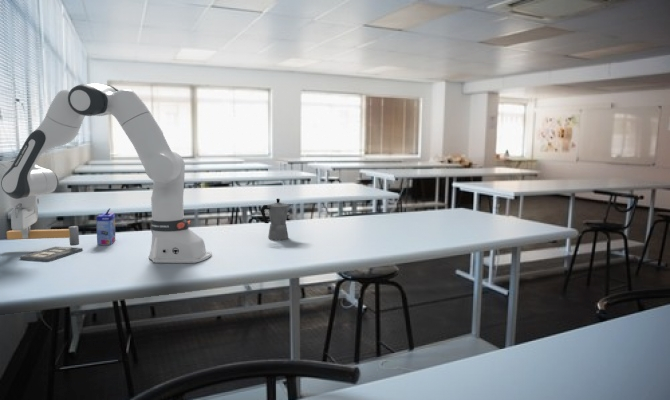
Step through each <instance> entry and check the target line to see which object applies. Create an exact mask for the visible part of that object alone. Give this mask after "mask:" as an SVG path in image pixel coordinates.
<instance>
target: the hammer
mask: <svg viewBox="0 0 670 400" xmlns="http://www.w3.org/2000/svg"><path fill="white" fill-rule="evenodd" d="M79 235H80V234H79V226H78V225H72V226H68V228H61V229H60V228H59V229H57V228H55V229H53V228H52V229H30V237H29V238H27V239H26V240H33V239H35V240H36V239H38V240H41V239H69V246H73V247H74V246H79V245H80V237H79ZM6 239H7V240H24V239H23V238H22V233H21V230H19V231H13V230H8V231H6Z"/></svg>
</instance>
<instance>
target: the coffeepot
mask: <svg viewBox="0 0 670 400" xmlns="http://www.w3.org/2000/svg"><path fill="white" fill-rule="evenodd" d="M275 201H276V202H274V203H270V204H264V205H262V207H261V208H260V214H261V217H262V219H263V223H264V224H269V223H270V224H269V230H268V235H267V237H268V239H269V240H270V241H284V240H287V239H289V233H288V227H287V223H286V221H287V220H288V212H289V208H290V207H291V206H292V205H291V204H289V203H283V202H280V201H281V198H276V200H275ZM266 210H268V215H269V220H267V216H266Z"/></svg>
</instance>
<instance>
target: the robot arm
mask: <svg viewBox="0 0 670 400" xmlns="http://www.w3.org/2000/svg"><path fill="white" fill-rule="evenodd" d="M107 115H111V116H113V117H114V118H115V119H116V121H117V122H118V124H119V126H120V127H121V128H122V130H123V131H124V134H125V135H126V136H127V138H128V140H129V141H130V143H131V144H132V145H133V147H134V150H135V151H136V153H137V156H138V158H139V160H140V162H141V164H142V166H143V168H144V171H145V174H146V177H148V178H149V179H150V180H151V181H153V184H152V194H151V197H150V200H151V202H150V204H151V220H150V231H151V244H150V251H149V256H148V259H150V260H151V261H152V263H159V264H160V263H162V264H163V263H165V264H167V263H169V264H171V263H173V264H176V263H177V264H186V263H187V264H196V263H200V262H203V261H205V260H207V259H209V258H210V257H212V255H213V253H212V251H210V250H207V249H206V244H205V240H204V239H203V237H200V236H199V235H198V234H197V233H195V232H194V231H193V230H191V229H190V228H189V227H190V226H189V225H190V224H191V220H188V221H187V220H186V218H185V217H184V213H185V212H184V211H185V210H184V191H185V175H186V174H185V171H186V170H185V169H186V167H185V166H186V163H185V161H184V159H183V157H182V156H181V155H180V154H179V153H177V152H175V151H172V150H171V148H170V145H169V144H168V142H167V140H166V138H165V136H164V132H163V130H162V129H161V127H160V125H159V124H158V122H157V120H155V117H154V116H153V114H152V113H151V111H150V110H149V108H148V107H147V106H146V104H145V103H144V102H143V100H142V99H141V98H140V97H139V96H138V94H137V93H136V92H134V91H133V90H132V89H129V88H128V89H126V88H125V89H124V88H123V89H118V88H117V87H115V86H112V85H109V84H101V83H82V84H78V85H75V86H74V87H72V88H71V89H62V90H60V91H58V92H57V93H56V95H55V96H54V98H53V99H52V101H51V103H50V104H49V107H48V109H47V112H46V114H45V116H44V119H43V120H42V122H41V123H40V124H39V126H38V127H37V128H36V129H35V130H33V131H32V132H31V133H30V134H29V135H28V137H27V138H26V140H25V141H24V143H23V145H22V146H21V148H20V151H19V152H18V154H17V156H16V158H15V159H14V160H11V161H9V162H8V164H7V167H6V172H5V173H4V175H3V176H2V178H1V182H0V184H1V189H2V190H3V192H4V193H5V194H6V195H7V196H8V206H9V209H12V210H11V211H10V212H11V213H10V223H11V225H10V226H11V227H10V228H11V229H12V230H13V231H19V230H21V233H22V238H23V239H22V240H28V239H27V238H29V237H30V230H31V226H32V225H33V224H35V223H37V222H38V216H39V214H38V213H39V211H38V210H39V208H38V205H39V204H40V201H39V199H40V198H38V196H41V195H47V194H52V193H54V192H55V191H56V190H57V188H58V185H59V179H58V176H57V174H56V172H54V171H53V170H52V169H50V168H48V169H47V168H45V167H42V166H39V165H38V164H37V162H38V161H39V159H40V158H41V156H42V155H43V154H44V153H46V152H48V151H49V150H52V149H54V148H57V147H60V146H64V145H67V144H69V143H72V142H73V141H74V140H75V138H76V137H77V136H78V134H79V132H80V128H81V126H82V124H83V121H84V119H85V117H93V116H96V117H104V116H107Z"/></svg>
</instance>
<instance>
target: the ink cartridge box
mask: <svg viewBox="0 0 670 400" xmlns="http://www.w3.org/2000/svg"><path fill="white" fill-rule="evenodd" d="M110 211H111V208H108V209H107V211H106V212H102V213H100V214H98V215H97V216H96V217H95V218H96V245H97V246H111V245H112V244H113V243H114V242H116V213H115V212H110Z"/></svg>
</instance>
